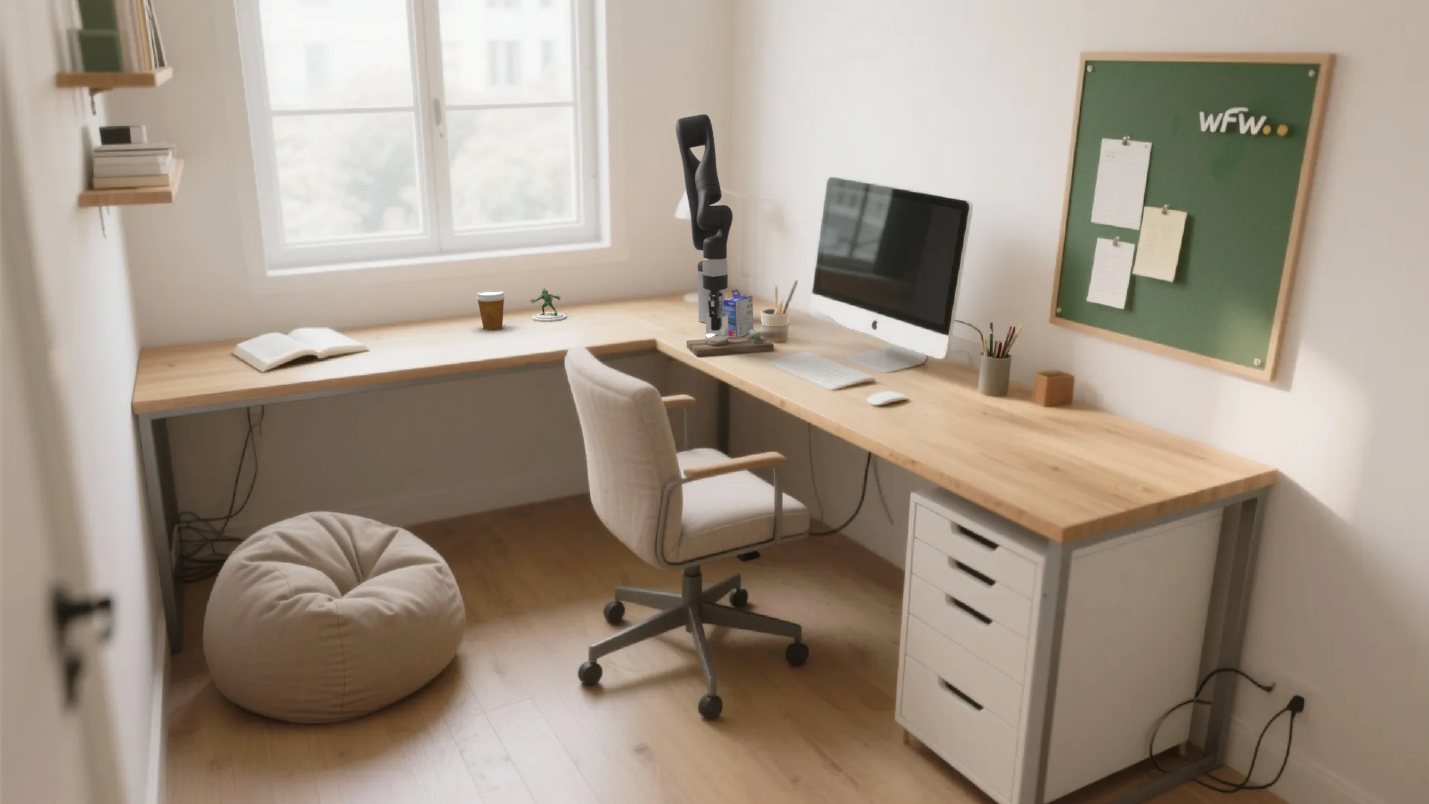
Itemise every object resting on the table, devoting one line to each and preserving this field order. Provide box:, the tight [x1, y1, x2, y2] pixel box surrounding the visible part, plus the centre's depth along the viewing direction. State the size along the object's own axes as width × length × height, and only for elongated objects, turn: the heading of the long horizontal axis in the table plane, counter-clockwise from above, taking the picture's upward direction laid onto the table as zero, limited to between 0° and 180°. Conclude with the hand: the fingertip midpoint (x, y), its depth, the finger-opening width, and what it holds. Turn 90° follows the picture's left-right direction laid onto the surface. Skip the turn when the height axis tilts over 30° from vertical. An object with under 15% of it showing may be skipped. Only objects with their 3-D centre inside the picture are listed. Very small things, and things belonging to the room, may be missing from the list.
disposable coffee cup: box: [475, 290, 506, 331], centre depth 372 cm, size 10×10×12 cm
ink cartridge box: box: [723, 288, 755, 338], centre depth 357 cm, size 10×6×14 cm, turn 144°
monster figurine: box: [529, 287, 567, 323], centre depth 386 cm, size 12×12×10 cm
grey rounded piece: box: [705, 313, 729, 346], centre depth 337 cm, size 7×7×9 cm
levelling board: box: [686, 329, 775, 358], centre depth 339 cm, size 13×24×5 cm, turn 105°
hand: (715, 328), depth 338 cm, fingers closed on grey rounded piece, 3 cm apart
